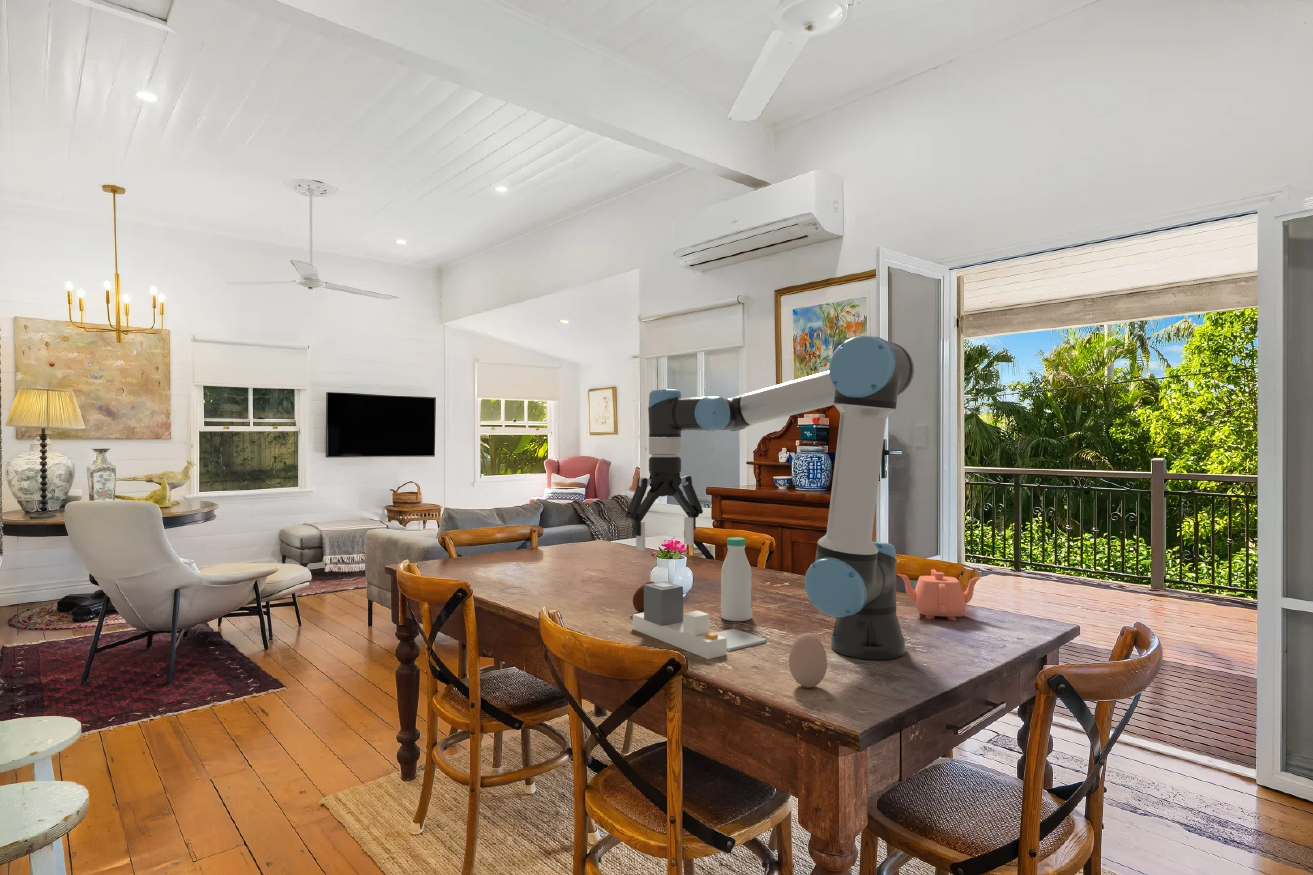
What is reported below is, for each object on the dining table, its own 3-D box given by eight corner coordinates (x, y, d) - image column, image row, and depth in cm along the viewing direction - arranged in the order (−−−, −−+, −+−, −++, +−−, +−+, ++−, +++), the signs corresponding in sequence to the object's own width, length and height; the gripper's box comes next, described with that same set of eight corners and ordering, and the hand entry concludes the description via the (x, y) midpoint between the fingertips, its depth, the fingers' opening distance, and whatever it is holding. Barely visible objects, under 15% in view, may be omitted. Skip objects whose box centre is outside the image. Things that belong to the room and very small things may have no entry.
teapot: (896, 614, 181) (896, 571, 181) (932, 606, 188) (932, 565, 188) (946, 626, 168) (946, 580, 168) (983, 618, 176) (982, 574, 176)
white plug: (709, 632, 152) (709, 614, 152) (694, 636, 149) (694, 617, 149) (697, 628, 155) (697, 610, 155) (683, 631, 153) (683, 613, 153)
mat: (766, 642, 157) (766, 639, 157) (729, 651, 150) (729, 648, 150) (733, 631, 166) (733, 628, 166) (696, 639, 159) (696, 636, 159)
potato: (678, 610, 186) (678, 579, 186) (648, 618, 178) (647, 586, 178) (657, 605, 192) (657, 575, 192) (626, 613, 183) (626, 582, 183)
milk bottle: (751, 622, 173) (750, 540, 173) (719, 621, 175) (719, 540, 174) (753, 614, 181) (752, 536, 180) (722, 613, 182) (722, 535, 182)
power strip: (726, 654, 148) (726, 634, 148) (708, 659, 145) (708, 638, 145) (650, 625, 171) (649, 607, 171) (632, 629, 168) (632, 610, 168)
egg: (809, 696, 124) (809, 640, 124) (781, 685, 130) (780, 632, 130) (835, 688, 128) (834, 634, 128) (806, 677, 134) (806, 626, 134)
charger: (683, 621, 161) (683, 585, 161) (661, 625, 157) (661, 589, 157) (665, 615, 167) (664, 580, 167) (643, 619, 163) (643, 584, 163)
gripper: (698, 454, 175) (698, 540, 175) (610, 456, 161) (610, 549, 162) (717, 455, 169) (717, 544, 169) (627, 457, 155) (627, 554, 155)
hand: (665, 547), depth 165 cm, fingers open, 13 cm apart
